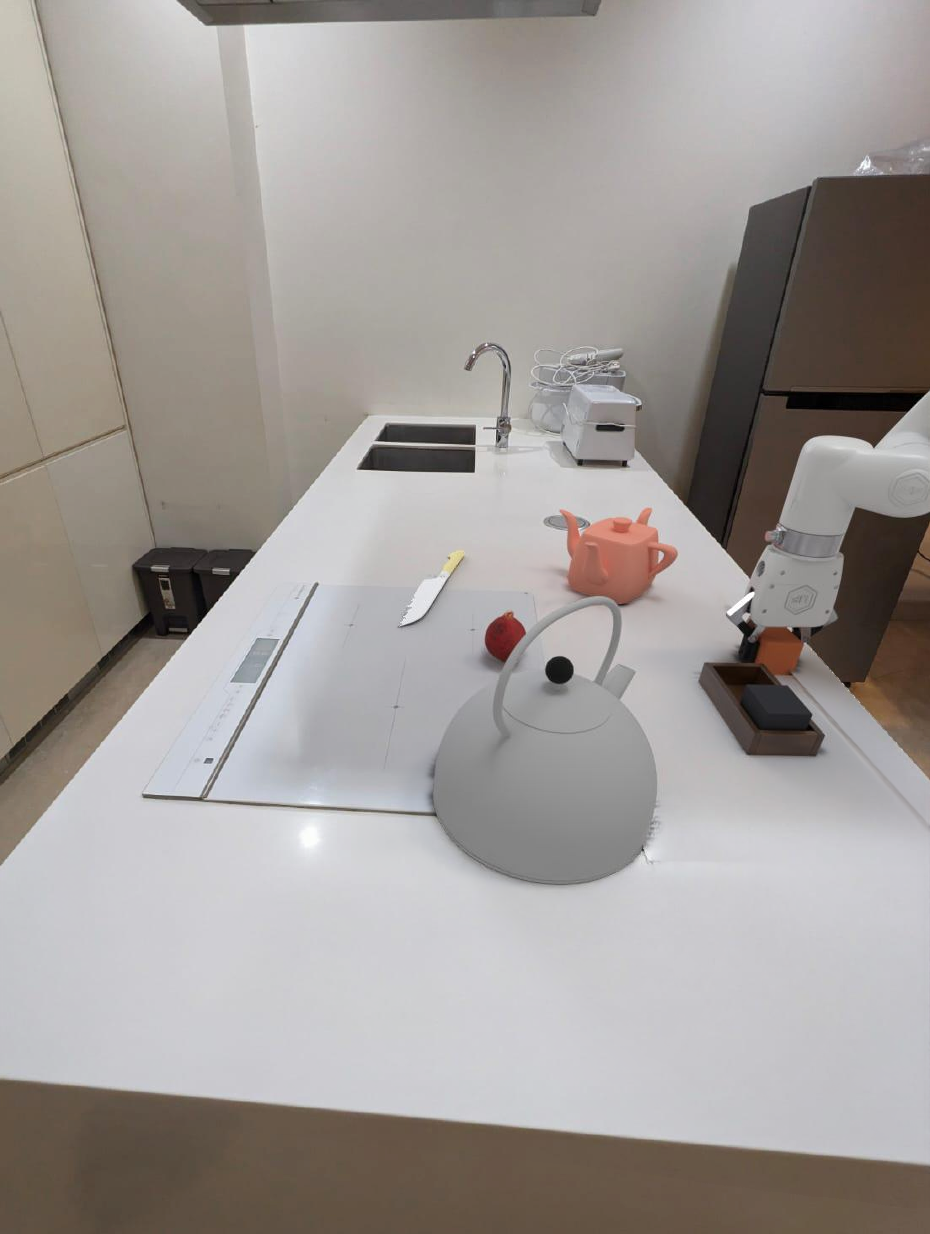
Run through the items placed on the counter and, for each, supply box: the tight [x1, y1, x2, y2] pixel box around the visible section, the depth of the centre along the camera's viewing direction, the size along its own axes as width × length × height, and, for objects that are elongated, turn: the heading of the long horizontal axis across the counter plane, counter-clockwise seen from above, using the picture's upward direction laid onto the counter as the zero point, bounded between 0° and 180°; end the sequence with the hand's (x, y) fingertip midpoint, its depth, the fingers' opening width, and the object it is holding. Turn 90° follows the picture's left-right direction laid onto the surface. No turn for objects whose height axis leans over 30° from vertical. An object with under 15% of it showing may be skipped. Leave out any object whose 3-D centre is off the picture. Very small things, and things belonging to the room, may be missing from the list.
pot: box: [558, 507, 679, 605], centre depth 109 cm, size 18×17×12 cm
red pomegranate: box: [484, 609, 527, 663], centre depth 88 cm, size 6×6×8 cm
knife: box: [399, 549, 466, 627], centre depth 111 cm, size 1×33×5 cm
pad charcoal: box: [740, 684, 814, 731], centre depth 75 cm, size 5×6×5 cm
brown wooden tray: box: [698, 661, 826, 757], centre depth 78 cm, size 8×16×4 cm, turn 0°
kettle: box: [432, 596, 658, 885], centre depth 61 cm, size 25×23×22 cm
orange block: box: [754, 627, 805, 676], centre depth 89 cm, size 5×6×5 cm
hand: (765, 661), depth 90 cm, fingers closed on orange block, 5 cm apart
